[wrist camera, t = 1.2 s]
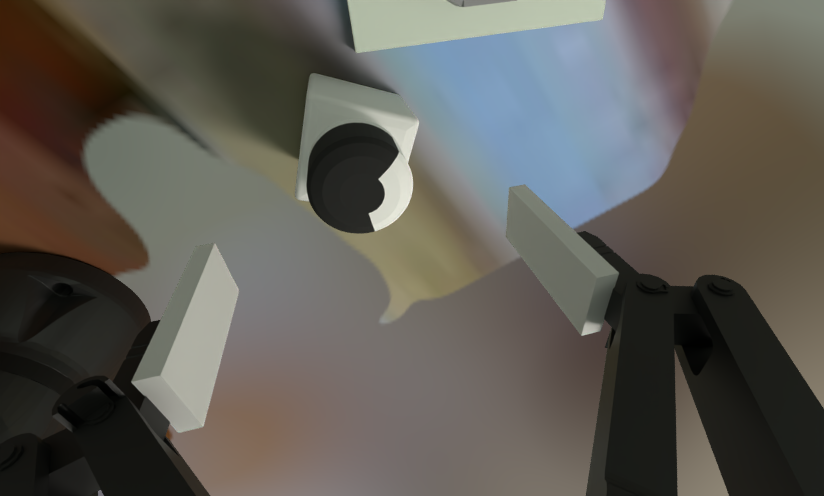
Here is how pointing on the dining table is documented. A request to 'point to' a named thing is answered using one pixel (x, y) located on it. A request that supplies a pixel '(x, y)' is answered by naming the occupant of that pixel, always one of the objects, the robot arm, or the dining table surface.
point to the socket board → (457, 19)
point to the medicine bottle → (355, 154)
